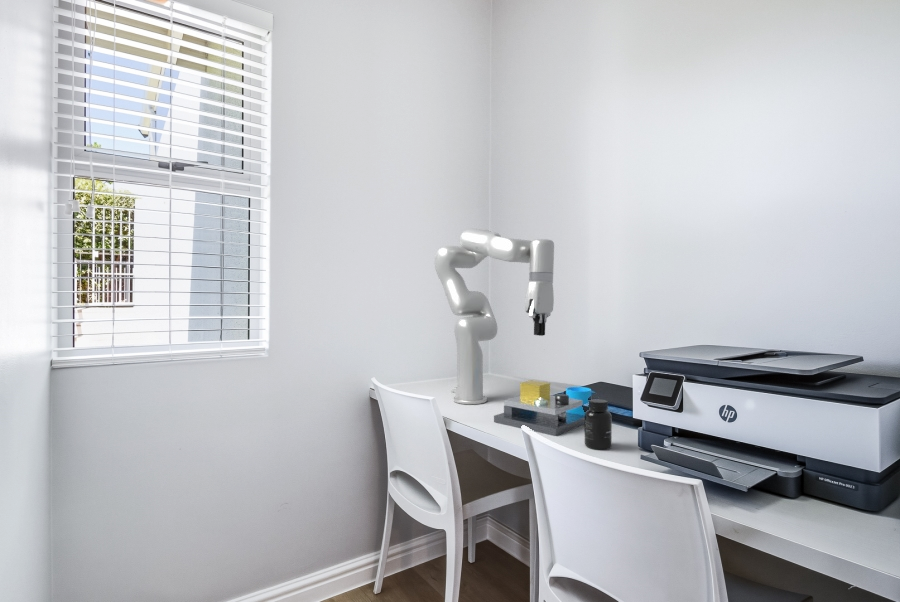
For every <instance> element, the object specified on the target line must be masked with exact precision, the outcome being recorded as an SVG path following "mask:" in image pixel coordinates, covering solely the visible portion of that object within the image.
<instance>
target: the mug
mask: <svg viewBox="0 0 900 602" xmlns="http://www.w3.org/2000/svg"><path fill="white" fill-rule="evenodd" d="M592 393H596V392H595V391H593V390H592V389H591V388H590V387H583V386H570V387H566V389H565V394H566V395H569V398H571V399H578V400H583V405H584V404H586V403H588V402H589V400H588V398H589V397H590V396H591V397H592ZM566 412H568V413H573V414H579V415H584V416H585V412H584V410H583V407H582V406H580V407H577V408H574V409H571V410H568V411H566Z"/></svg>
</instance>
